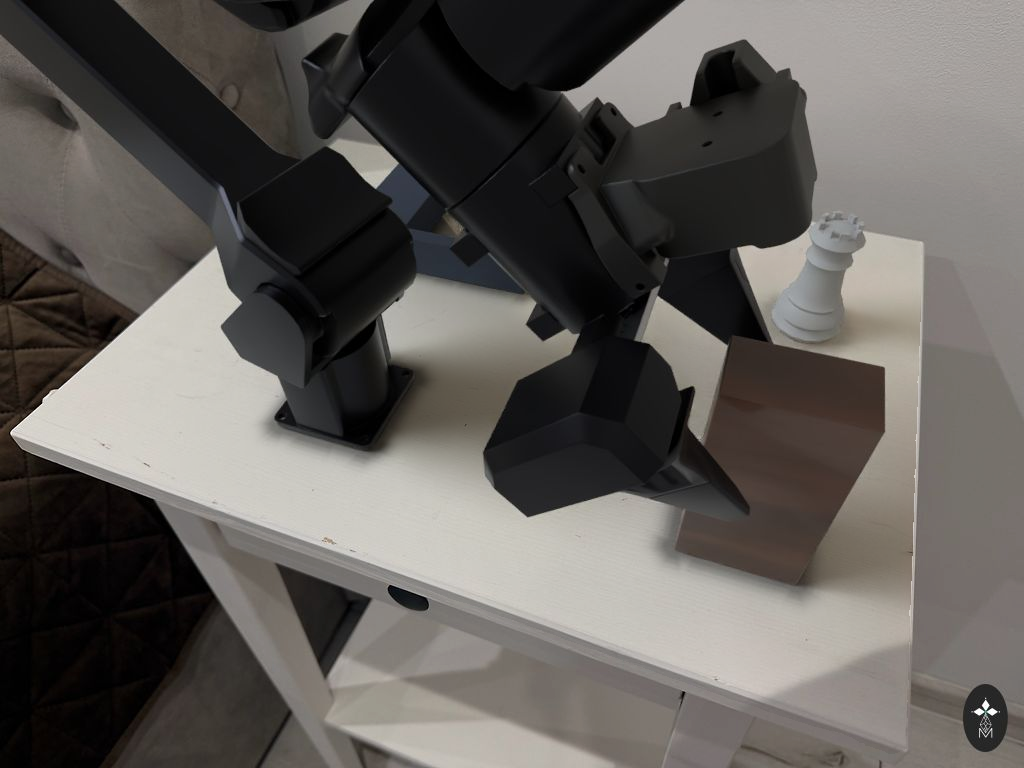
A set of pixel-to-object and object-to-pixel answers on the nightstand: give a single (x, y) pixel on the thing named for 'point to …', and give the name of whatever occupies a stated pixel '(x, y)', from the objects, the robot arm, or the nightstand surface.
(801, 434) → the brown wooden block
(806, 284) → the rook chess piece
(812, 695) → the nightstand surface
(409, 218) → the blue rectangular frame
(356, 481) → the nightstand surface
